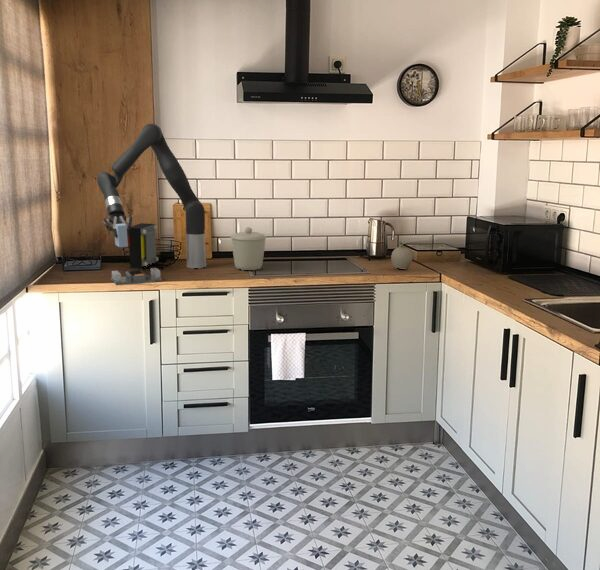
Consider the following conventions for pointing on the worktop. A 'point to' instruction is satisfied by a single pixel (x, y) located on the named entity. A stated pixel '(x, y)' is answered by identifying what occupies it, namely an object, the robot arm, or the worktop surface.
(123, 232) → the pale blue upright block
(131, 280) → the rack
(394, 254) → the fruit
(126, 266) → the worktop surface
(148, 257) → the electrical component
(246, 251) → the canister
